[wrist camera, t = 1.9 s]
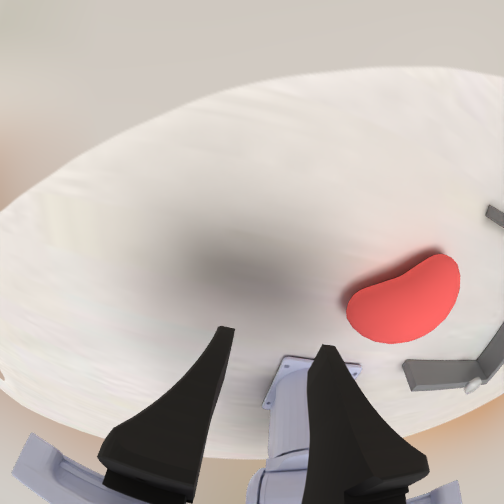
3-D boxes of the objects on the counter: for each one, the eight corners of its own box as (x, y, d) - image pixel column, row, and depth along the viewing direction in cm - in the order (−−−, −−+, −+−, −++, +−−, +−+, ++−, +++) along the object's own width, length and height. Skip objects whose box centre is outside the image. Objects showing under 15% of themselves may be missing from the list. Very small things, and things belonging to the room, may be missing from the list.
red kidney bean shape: (426, 299, 21) (476, 309, 15) (350, 349, 20) (395, 379, 14) (413, 247, 21) (466, 246, 14) (331, 292, 20) (378, 308, 13)
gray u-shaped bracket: (473, 368, 24) (484, 391, 20) (398, 370, 23) (408, 400, 20) (549, 239, 15) (570, 256, 11) (492, 197, 15) (523, 215, 11)
